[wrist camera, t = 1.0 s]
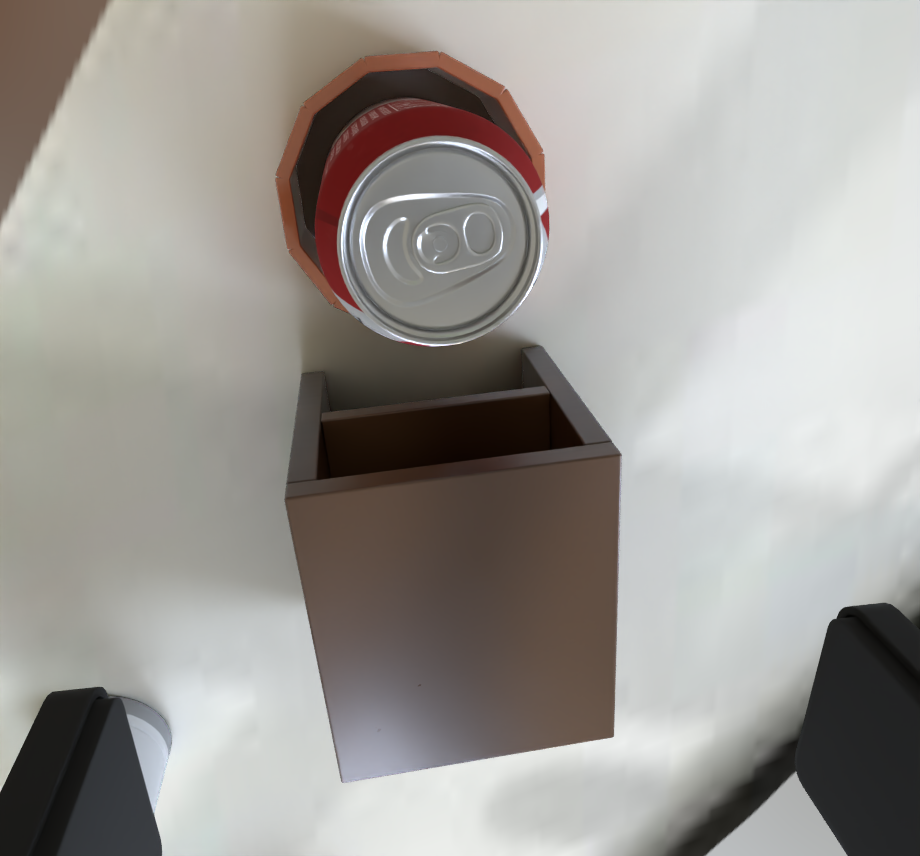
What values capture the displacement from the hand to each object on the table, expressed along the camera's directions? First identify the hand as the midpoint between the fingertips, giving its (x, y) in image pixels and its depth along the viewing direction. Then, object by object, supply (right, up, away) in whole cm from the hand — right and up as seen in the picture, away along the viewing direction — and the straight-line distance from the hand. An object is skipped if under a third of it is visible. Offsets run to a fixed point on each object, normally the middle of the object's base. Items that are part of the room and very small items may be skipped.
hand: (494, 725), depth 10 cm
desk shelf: (-2, +1, +27) cm, 27 cm away
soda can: (-3, +14, +21) cm, 25 cm away
